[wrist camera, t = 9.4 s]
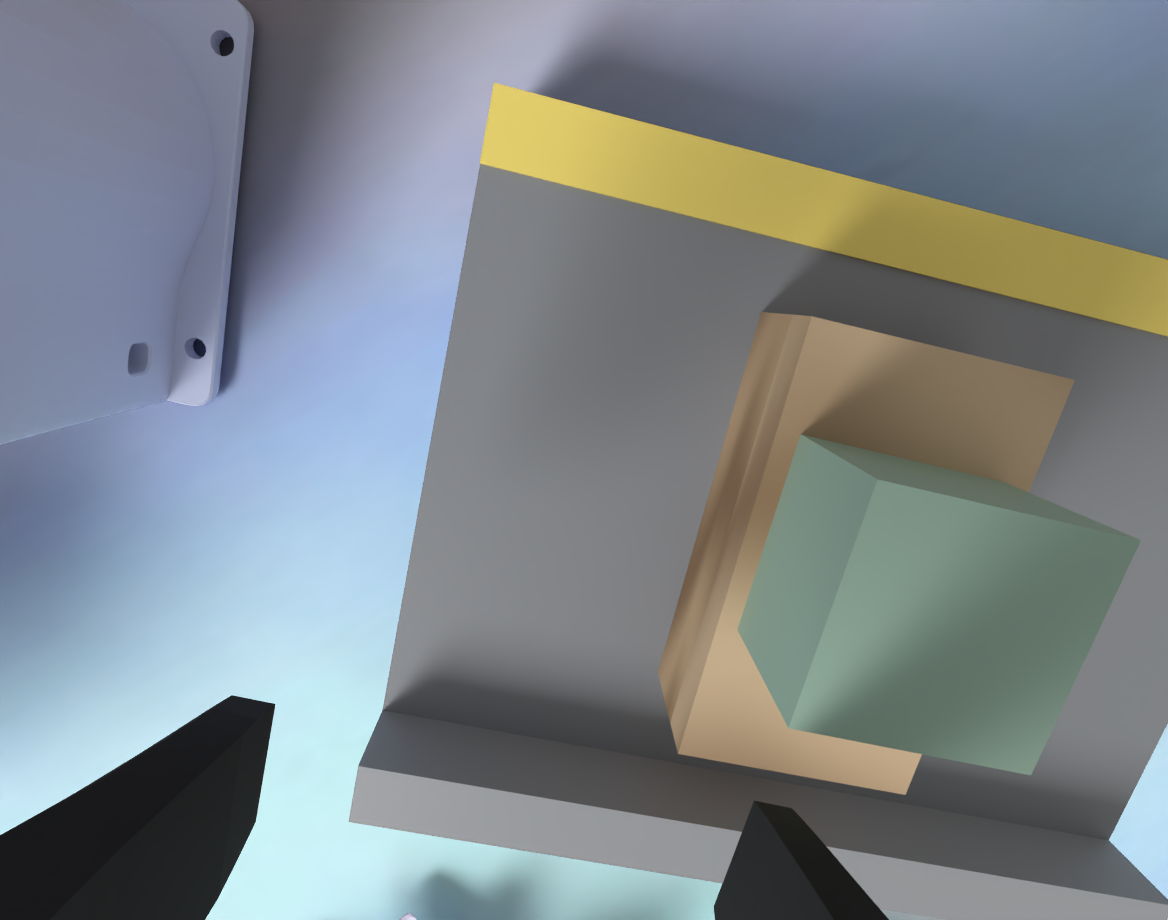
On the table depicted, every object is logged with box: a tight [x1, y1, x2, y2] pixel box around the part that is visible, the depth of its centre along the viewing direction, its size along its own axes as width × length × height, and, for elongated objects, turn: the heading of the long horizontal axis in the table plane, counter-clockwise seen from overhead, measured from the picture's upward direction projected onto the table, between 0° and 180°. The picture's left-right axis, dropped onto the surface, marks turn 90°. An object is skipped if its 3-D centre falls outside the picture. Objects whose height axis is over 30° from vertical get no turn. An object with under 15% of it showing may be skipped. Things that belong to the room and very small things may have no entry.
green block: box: [737, 434, 1141, 775], centre depth 11 cm, size 4×4×3 cm
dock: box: [349, 83, 1168, 920], centre depth 16 cm, size 16×20×5 cm
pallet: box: [658, 312, 1075, 795], centre depth 14 cm, size 9×5×3 cm, turn 167°
